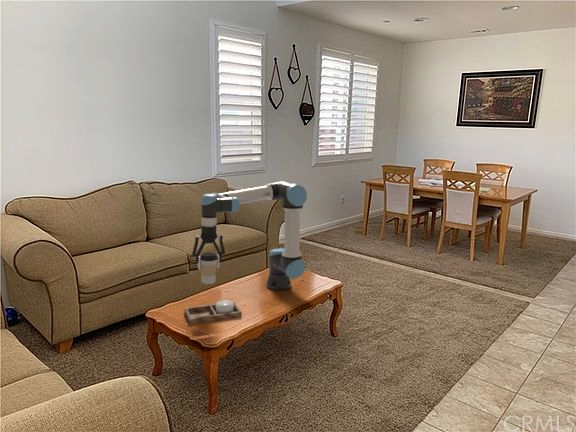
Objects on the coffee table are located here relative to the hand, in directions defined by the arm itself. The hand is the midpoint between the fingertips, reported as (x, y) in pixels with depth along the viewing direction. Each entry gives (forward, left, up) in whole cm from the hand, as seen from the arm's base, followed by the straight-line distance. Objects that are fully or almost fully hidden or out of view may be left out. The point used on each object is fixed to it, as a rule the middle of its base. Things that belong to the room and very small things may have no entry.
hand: (208, 267), depth 226 cm
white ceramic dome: (-7, +7, -23) cm, 25 cm away
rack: (0, +7, -24) cm, 25 cm away
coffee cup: (0, 0, -8) cm, 8 cm away
